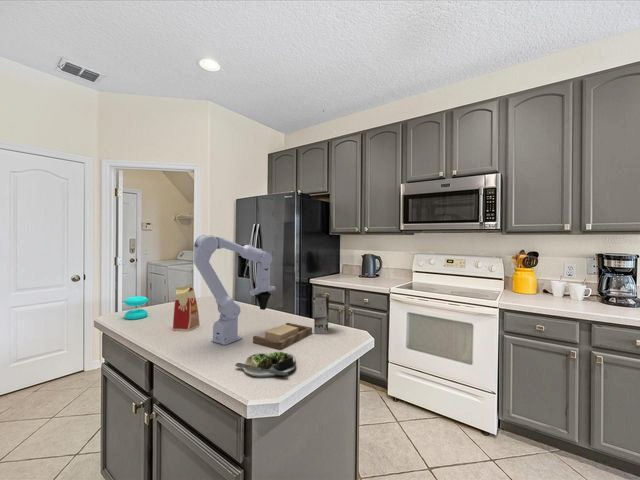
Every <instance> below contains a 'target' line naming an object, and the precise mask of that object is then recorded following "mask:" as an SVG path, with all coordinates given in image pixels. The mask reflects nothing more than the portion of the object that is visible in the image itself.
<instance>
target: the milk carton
mask: <svg viewBox="0 0 640 480" xmlns="http://www.w3.org/2000/svg"><path fill="white" fill-rule="evenodd" d="M175 289H176V291H175V296H174V297H175V298H174V307H173V315H172V316H173V320H172V331H180V332H182V331H183V332H190V331H192V330H194V329H196V328H197V327H199V326H201V325H200V315H199V308H198V303H197V301H198V300H197V298H196V293H195V289H194V288H193V287H192V284H189V285H184V286H177V287H175Z"/></svg>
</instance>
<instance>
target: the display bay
mask: <svg viewBox="0 0 640 480" xmlns="http://www.w3.org/2000/svg"><path fill="white" fill-rule="evenodd" d="M285 325H289V326H293V327H298V333H296V334H294V335H292V336H290V337H288V338H285V339H283V340H281V341H275V340H271V339H267V338H265V337H263V336H259V335H254V336H252V343H253V344H257V345H260V346H263V347H267V348H271V349H273V350H274V349H275V350H279V351H281V350H283V349H285V348H287V347H288V346H290V345H293V344H294V343H296V342H298V341H300V340H302V339H304V338H306V337H307V336H309V335H312V333H313V327H310V326H305V325H300V324H297V323H296V324H295V323H291V322H285Z"/></svg>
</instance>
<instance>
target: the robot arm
mask: <svg viewBox="0 0 640 480" xmlns="http://www.w3.org/2000/svg"><path fill="white" fill-rule="evenodd" d="M220 249H226V250H227V251H228V250H229V251H232V252H234V253H235V252H236V253H239V254H240V256H241V258H243V259H246V260H249V261H252V262H254V263H256V287H255V288H254V289H251V290H249V296H252V297H254V296H255V298H256V299H257V302H258V307H259V309H260V310H262V311H265V310H266V308H267V305H268V302H269V299H270V297H271V295H272V293H271V291H273V292H275V291H276V286H274V285H271V281H270V280H271V263H272V262H273V257H272V254H271V252H269V251H264V250H263V248H257V247H254V245H253V244H245V245H241V244H238V243H236V242H233V241H231V240H229V239H226V238H223V237H220V236H215V235H212V234H211V235H210V234H209V235H206V234H201V235H199V236H197V237H196V239H195V241H194V242H193V251H194V252H193V264H194V265H195V267H196V268H197V270H198V272H199V274H200V275H201V277H202V279H203V280H204V282H205V284H206V285H207V287H208V288H209V291H210V292H211V294H212V295H213V297H214V299H215V303H216V305H217V311H218V313H220V314H219V319H218V320H217V321H215V322H213V326H212V339H211V342H213V343H216V344H221V345H223V346H226V345H229V344H230V343H231V344H232V343H233V342H237V341H239V340H241V339H243V336H239V334H238V330H239V329H238V328H239V325H238V324H239V315H240V314H241V306H240V305H239V304H238V303H236V302H235V301H234V299H233V298H232V297H231V296H230V295H229V294H228V291H227V290H226V288H225V287H224V285H223V283H222V281H221V280H220V278H219V276H218V275H217V273H216V271H215V270H214V268H213V265H212V264H211V263H210V261H211V258H212V255H213V254H214V253H215V252H216V250H220Z"/></svg>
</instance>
